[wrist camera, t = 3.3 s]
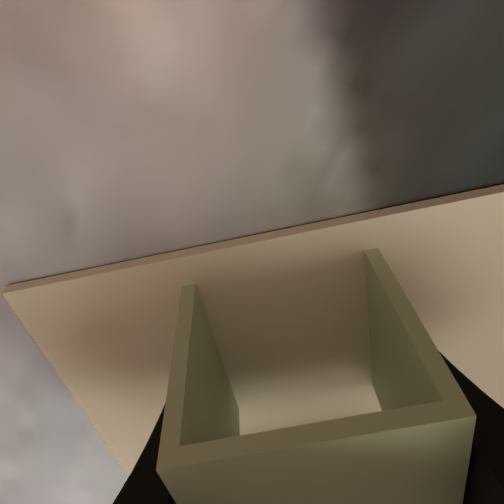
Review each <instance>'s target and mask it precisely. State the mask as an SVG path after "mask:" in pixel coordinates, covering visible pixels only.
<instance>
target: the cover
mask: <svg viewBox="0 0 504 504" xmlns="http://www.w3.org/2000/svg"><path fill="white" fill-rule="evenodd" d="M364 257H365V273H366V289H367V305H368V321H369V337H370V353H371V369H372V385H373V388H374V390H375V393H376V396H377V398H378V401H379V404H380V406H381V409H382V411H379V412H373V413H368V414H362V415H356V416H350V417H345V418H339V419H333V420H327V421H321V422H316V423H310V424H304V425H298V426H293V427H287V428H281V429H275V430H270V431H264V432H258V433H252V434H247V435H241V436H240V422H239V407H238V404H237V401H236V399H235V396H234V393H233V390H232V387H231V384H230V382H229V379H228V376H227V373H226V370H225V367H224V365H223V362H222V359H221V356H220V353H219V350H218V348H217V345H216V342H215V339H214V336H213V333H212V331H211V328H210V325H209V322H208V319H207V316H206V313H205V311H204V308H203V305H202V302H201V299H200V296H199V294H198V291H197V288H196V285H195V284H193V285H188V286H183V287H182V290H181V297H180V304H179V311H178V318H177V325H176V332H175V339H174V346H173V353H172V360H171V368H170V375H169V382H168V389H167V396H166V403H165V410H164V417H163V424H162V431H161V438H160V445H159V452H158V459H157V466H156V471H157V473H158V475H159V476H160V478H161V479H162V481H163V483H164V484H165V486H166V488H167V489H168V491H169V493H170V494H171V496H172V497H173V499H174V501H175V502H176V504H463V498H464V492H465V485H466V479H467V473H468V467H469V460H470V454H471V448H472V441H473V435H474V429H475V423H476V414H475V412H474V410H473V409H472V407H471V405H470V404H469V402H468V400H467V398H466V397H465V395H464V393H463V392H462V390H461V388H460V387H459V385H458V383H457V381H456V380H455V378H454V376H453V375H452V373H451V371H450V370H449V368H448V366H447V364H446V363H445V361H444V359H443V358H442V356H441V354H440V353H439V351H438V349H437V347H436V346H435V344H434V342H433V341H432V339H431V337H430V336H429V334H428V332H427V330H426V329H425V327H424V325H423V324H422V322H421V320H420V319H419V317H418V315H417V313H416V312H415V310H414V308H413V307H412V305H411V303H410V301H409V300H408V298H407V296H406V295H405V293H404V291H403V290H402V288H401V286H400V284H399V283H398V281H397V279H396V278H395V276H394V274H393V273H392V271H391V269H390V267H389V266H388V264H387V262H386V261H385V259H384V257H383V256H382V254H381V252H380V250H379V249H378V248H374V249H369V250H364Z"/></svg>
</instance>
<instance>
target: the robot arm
mask: <svg viewBox="0 0 504 504" xmlns="http://www.w3.org/2000/svg"><path fill="white" fill-rule="evenodd" d="M439 353H440V352H439ZM440 354H441V356H442V358H443V359H444V361H445V363H446V364H447V366H448V368H449V370H450V371H451V373H452V375H453V376H454V378H455V380H456V381H457V383H458V385H459V387H460V388H461V390H462V392H463V393H464V395H465V397H466V398H467V400H468V402H469V404H470V405H471V407H472V409H473V410H474V412H475V414H476V423H475V429H474V435H473V441H472V448H471V454H470V460H469V467H468V473H467V479H466V485H465V492H464V498H463V504H504V408H503V407H501V406H500V405H499V404H498V403H496V402H495V401H494V400H493V399H492V398H490V397H489V396H488V395H487V394H486V393H484V392H483V391H482V390H481V389H480V388H479V387H477V386H476V385H475V384H474V383H473V382H472V381H471V380H470V379H468V378H467V377H466V376H465V375H464V374H463V373H462V372H461V371H459V370H458V369H457V368H456V367H455V366H454V365H453V364H452V363H451V362H450V361H449V360H448V359H447V358H446V357H445V356H444V355H443V354H442V353H440ZM164 410H165V405H164V407H163V409H162V412H161V414H160V416H159V418H158V421H157V423H156V425H155V427H154V429H153V431H152V433H151V435H150V437H149V439H148V441H147V443H146V445H145V447H144V449H143V451H142V453H141V455H140V457H139V459H138V461H137V462H136V464H135V466H134V468H133V470H132V472H131V474H130V475H129V477H128V479H127V481H126V482H125V484H124V486H123V488H122V489H121V491H120V493H119V494H118V496H117V497H116V499H115V501H114V502H113V504H176V502H175V501H174V499H173V497H172V496H171V494H170V493H169V491H168V489H167V488H166V486H165V484H164V483H163V481H162V479H161V478H160V476H159V475H158V473H157V471H156V466H157V459H158V452H159V445H160V438H161V431H162V424H163V417H164Z"/></svg>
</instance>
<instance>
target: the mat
mask: <svg viewBox="0 0 504 504" xmlns="http://www.w3.org/2000/svg"><path fill="white" fill-rule="evenodd" d="M374 248H378V249H379V250H380V252H381V254H382V256H383V257H384V259H385V261H386V262H387V264H388V266H389V267H390V269H391V271H392V273H393V274H394V276H395V278H396V279H397V281H398V283H399V284H400V286H401V288H402V290H403V291H404V293H405V295H406V296H407V298H408V300H409V301H410V303H411V305H412V307H413V308H414V310H415V312H416V313H417V315H418V317H419V319H420V320H421V322H422V324H423V325H424V327H425V329H426V330H427V332H428V334H429V336H430V337H431V339H432V341H433V342H434V344H435V346H436V347H437V349H438V351H439V352H440V353H442V354H443V355H444V356H445V357H446V358H447V359H448V360H449V361H450V362H451V363H452V364H453V365H454V366H455V367H456V368H457V369H458V370H459V371H461V372H462V373H463V374H464V375H465V376H466V377H467V378H468V379H470V380H471V381H472V382H473V383H474V384H475V385H476V386H477V387H479V388H480V389H481V390H482V391H483V392H484V393H486V394H487V395H488V396H489V397H490V398H492V399H493V400H494V401H495V402H496V403H498V404H499V405H500V406H501V407H503V408H504V184H502V185H497V186H493V187H488V188H483V189H478V190H473V191H468V192H463V193H458V194H453V195H448V196H443V197H439V198H434V199H429V200H424V201H419V202H414V203H409V204H404V205H399V206H394V207H389V208H385V209H380V210H375V211H370V212H365V213H360V214H355V215H350V216H345V217H340V218H336V219H331V220H326V221H321V222H316V223H311V224H306V225H301V226H296V227H291V228H286V229H282V230H277V231H272V232H267V233H262V234H257V235H252V236H247V237H242V238H237V239H232V240H228V241H223V242H218V243H213V244H208V245H203V246H198V247H193V248H188V249H183V250H178V251H174V252H169V253H164V254H159V255H154V256H149V257H144V258H139V259H134V260H129V261H125V262H120V263H115V264H110V265H105V266H100V267H95V268H90V269H85V270H80V271H75V272H71V273H66V274H61V275H56V276H51V277H46V278H41V279H36V280H31V281H26V282H21V283H17V284H12V285H7V287H6V288H5V290H4V291H3V292H2V295H3V297H4V298H5V299H6V301H7V302H8V304H9V305H10V307H11V308H12V310H13V311H14V313H15V314H16V315H17V317H18V318H19V320H20V321H21V323H22V324H23V326H24V327H25V328H26V330H27V331H28V333H29V334H30V336H31V337H32V339H33V340H34V341H35V343H36V344H37V346H38V347H39V349H40V350H41V352H42V353H43V354H44V356H45V357H46V359H47V360H48V362H49V363H50V365H51V366H52V367H53V369H54V370H55V372H56V373H57V375H58V376H59V378H60V379H61V381H62V382H63V383H64V385H65V386H66V388H67V389H68V391H69V392H70V394H71V395H72V396H73V398H74V399H75V401H76V402H77V404H78V405H79V407H80V408H81V409H82V411H83V412H84V414H85V415H86V417H87V418H88V420H89V421H90V422H91V424H92V425H93V427H94V428H95V430H96V431H97V433H98V434H99V436H100V437H101V438H102V440H103V441H104V443H105V444H106V446H107V447H108V449H109V450H110V451H111V453H112V454H113V456H114V457H115V459H116V460H117V462H118V463H119V464H120V466H121V467H122V469H123V470H124V472H125V473H126V475H127V476H128V477H129V475H130V474H131V472H132V470H133V468H134V466H135V464H136V462H137V461H138V459H139V457H140V455H141V453H142V451H143V449H144V447H145V445H146V443H147V441H148V439H149V437H150V435H151V433H152V431H153V429H154V427H155V425H156V423H157V421H158V418H159V416H160V414H161V412H162V409H163V407H164V405H165V403H166V396H167V389H168V382H169V375H170V368H171V360H172V353H173V346H174V339H175V332H176V325H177V318H178V311H179V304H180V297H181V290H182V287H183V286H188V285H193V284H195V285H196V288H197V291H198V294H199V296H200V299H201V302H202V305H203V308H204V311H205V313H206V316H207V319H208V322H209V325H210V328H211V331H212V333H213V336H214V339H215V342H216V345H217V348H218V350H219V353H220V356H221V359H222V362H223V365H224V367H225V370H226V373H227V376H228V379H229V382H230V384H231V387H232V390H233V393H234V396H235V399H236V401H237V404H238V407H239V422H240V436H241V435H247V434H252V433H258V432H264V431H270V430H275V429H281V428H287V427H293V426H298V425H304V424H310V423H316V422H321V421H327V420H333V419H339V418H345V417H350V416H356V415H362V414H368V413H373V412H379V411H382V409H381V406H380V404H379V401H378V398H377V396H376V393H375V390H374V388H373V385H372V369H371V353H370V337H369V321H368V305H367V289H366V273H365V257H364V250H369V249H374Z"/></svg>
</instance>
